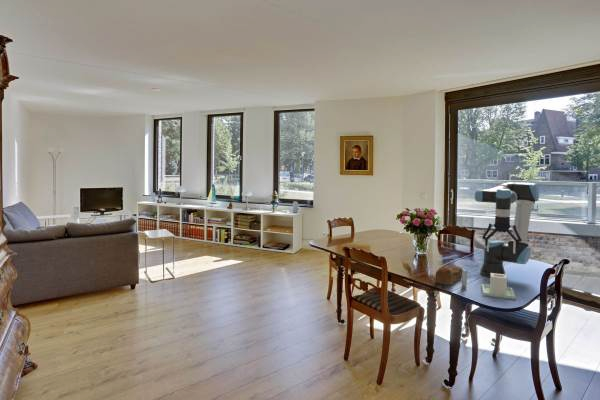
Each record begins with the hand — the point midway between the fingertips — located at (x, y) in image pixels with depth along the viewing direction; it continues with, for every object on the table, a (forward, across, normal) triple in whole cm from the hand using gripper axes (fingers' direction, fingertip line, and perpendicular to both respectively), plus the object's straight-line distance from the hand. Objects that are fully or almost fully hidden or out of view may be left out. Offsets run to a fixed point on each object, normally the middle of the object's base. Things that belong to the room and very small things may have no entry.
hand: (500, 252), depth 221 cm
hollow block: (+23, -1, -4) cm, 23 cm away
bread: (+24, -28, +9) cm, 38 cm away
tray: (+24, -1, -4) cm, 24 cm away
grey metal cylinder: (+23, -19, -4) cm, 30 cm away
